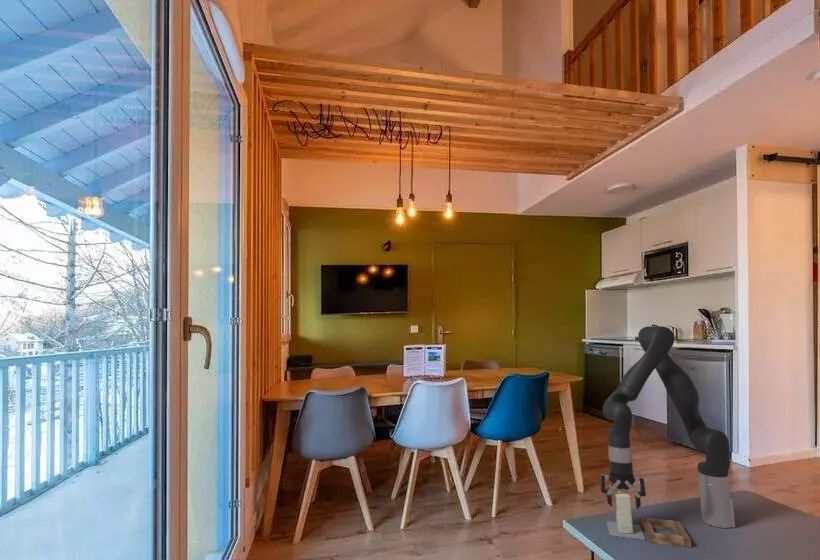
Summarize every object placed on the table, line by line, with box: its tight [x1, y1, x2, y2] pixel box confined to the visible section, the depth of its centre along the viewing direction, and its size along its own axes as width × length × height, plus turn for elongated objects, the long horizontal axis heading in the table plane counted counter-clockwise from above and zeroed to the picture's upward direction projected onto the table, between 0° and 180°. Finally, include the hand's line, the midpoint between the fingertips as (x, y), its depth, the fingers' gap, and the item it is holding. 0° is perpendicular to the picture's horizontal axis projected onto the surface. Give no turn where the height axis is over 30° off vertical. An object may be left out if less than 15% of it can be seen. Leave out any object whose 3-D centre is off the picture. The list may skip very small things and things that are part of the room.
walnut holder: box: [640, 517, 692, 549], centre depth 151 cm, size 12×14×2 cm
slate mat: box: [605, 520, 646, 541], centre depth 154 cm, size 11×11×1 cm
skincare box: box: [613, 489, 633, 533], centre depth 155 cm, size 6×4×12 cm
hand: (623, 506), depth 155 cm, fingers open, 8 cm apart
